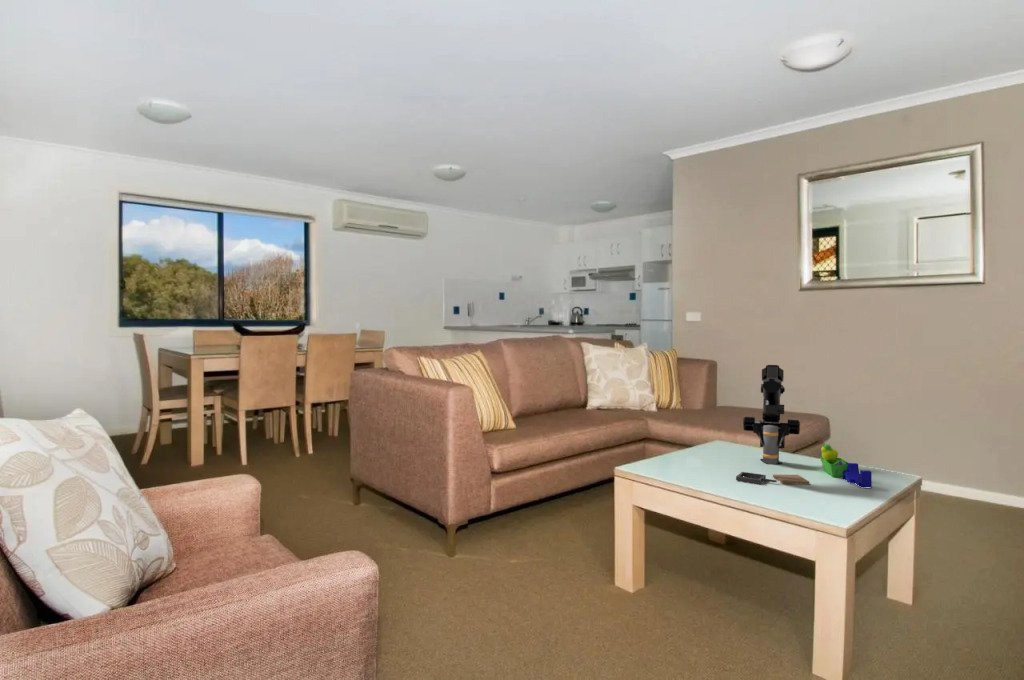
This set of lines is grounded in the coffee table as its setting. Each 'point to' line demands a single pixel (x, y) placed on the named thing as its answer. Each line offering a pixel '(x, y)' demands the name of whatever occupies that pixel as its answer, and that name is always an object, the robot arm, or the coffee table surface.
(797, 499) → the coffee table surface
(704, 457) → the coffee table surface
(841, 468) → the fruit basket
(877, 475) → the coffee table surface
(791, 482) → the walnut pad
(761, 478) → the collar
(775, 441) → the orange-banded grey cylinder
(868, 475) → the cable clip
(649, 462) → the coffee table surface
